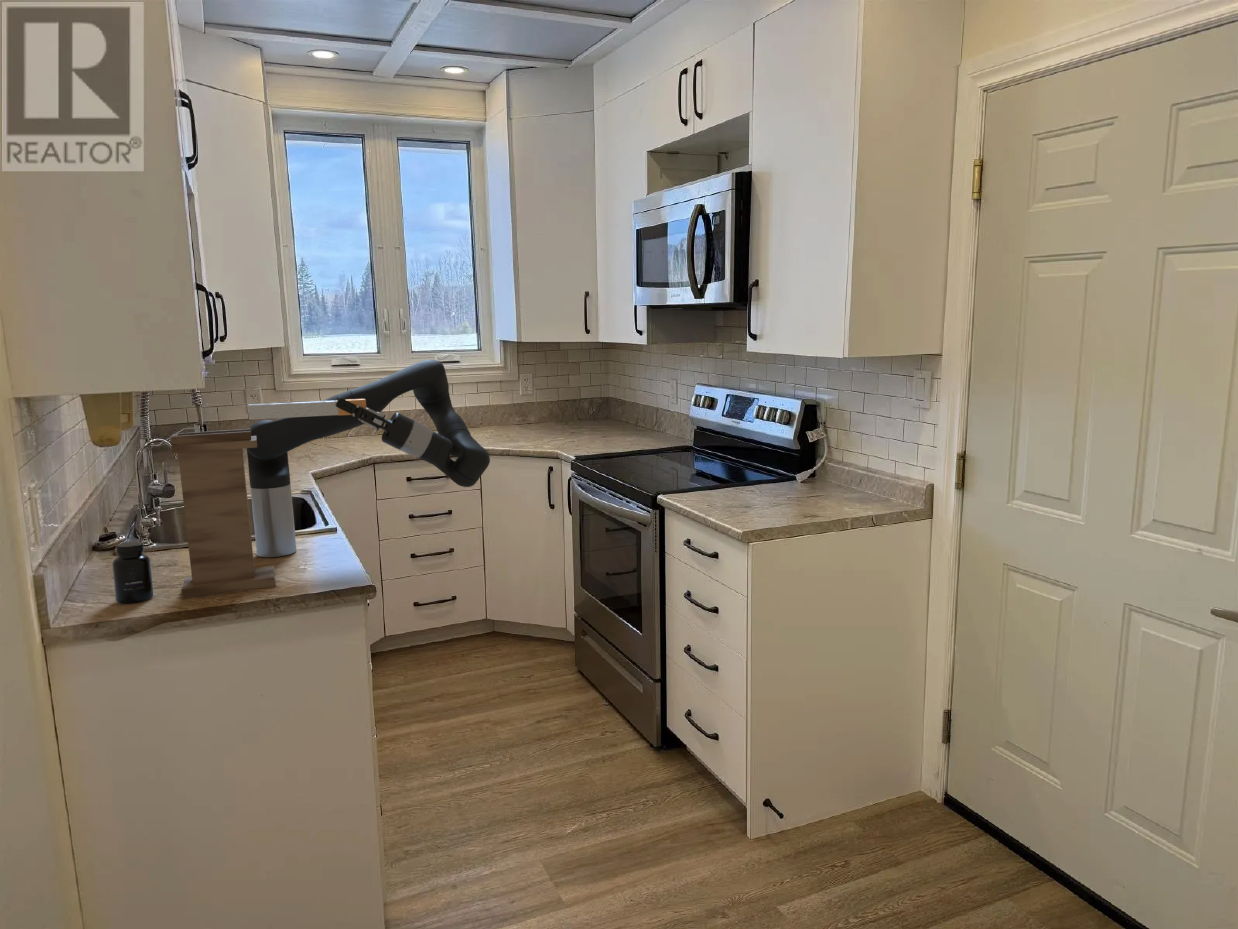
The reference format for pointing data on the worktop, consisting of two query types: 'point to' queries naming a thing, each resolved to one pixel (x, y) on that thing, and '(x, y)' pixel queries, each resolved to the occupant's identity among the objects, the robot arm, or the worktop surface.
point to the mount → (217, 513)
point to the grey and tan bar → (299, 409)
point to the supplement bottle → (132, 574)
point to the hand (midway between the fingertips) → (336, 401)
